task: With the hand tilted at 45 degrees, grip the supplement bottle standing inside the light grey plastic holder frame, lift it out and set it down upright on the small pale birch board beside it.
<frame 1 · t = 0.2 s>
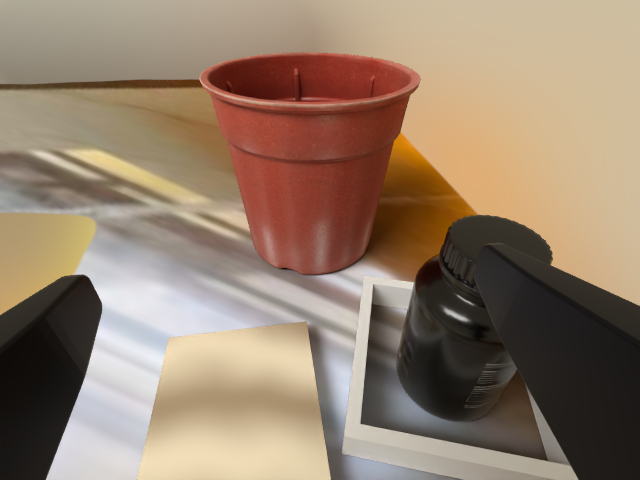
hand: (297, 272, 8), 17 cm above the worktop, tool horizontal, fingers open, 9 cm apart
supplement bottle: (442, 376, 24), resting in holder frame
flower pot: (311, 237, 36), on the worktop
holder frame: (443, 374, 24), on the worktop
birch board: (239, 419, 21), on the worktop
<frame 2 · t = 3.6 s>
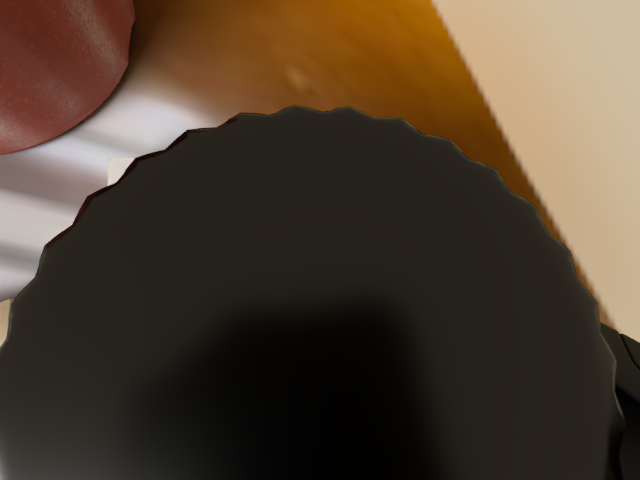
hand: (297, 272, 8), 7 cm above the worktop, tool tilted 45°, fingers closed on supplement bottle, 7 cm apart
supplement bottle: (296, 318, 14), resting in holder frame, touching gripper
flower pot: (0, 33, 15), on the worktop
holder frame: (296, 319, 14), on the worktop
when the fingers open (9 cm above the worktop, at t = 8.5 s): supplement bottle stays where it is, resting on birch board.
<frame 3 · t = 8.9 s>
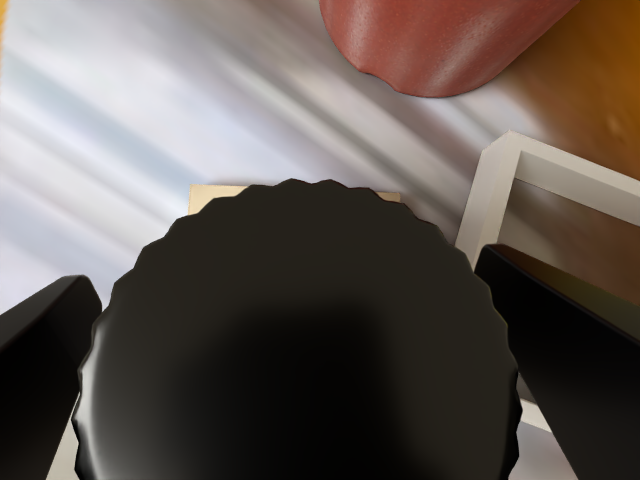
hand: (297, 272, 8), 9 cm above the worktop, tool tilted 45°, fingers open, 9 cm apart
supplement bottle: (294, 322, 15), point 1 cm above the worktop, touching birch board
flower pot: (419, 9, 21), on the worktop
holder frame: (562, 298, 18), on the worktop
birch board: (294, 316, 17), on the worktop
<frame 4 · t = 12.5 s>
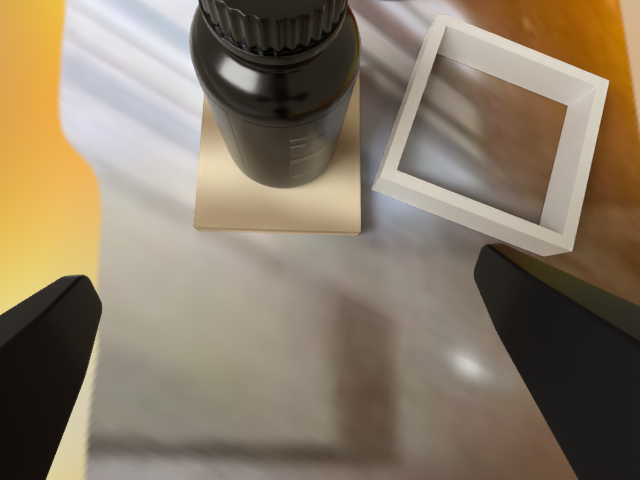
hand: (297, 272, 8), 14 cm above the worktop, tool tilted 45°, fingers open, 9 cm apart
supplement bottle: (281, 141, 22), point 1 cm above the worktop, touching birch board
holder frame: (481, 142, 24), on the worktop
birch board: (282, 145, 23), on the worktop
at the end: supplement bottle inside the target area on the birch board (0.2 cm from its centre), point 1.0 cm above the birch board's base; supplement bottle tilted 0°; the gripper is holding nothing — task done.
